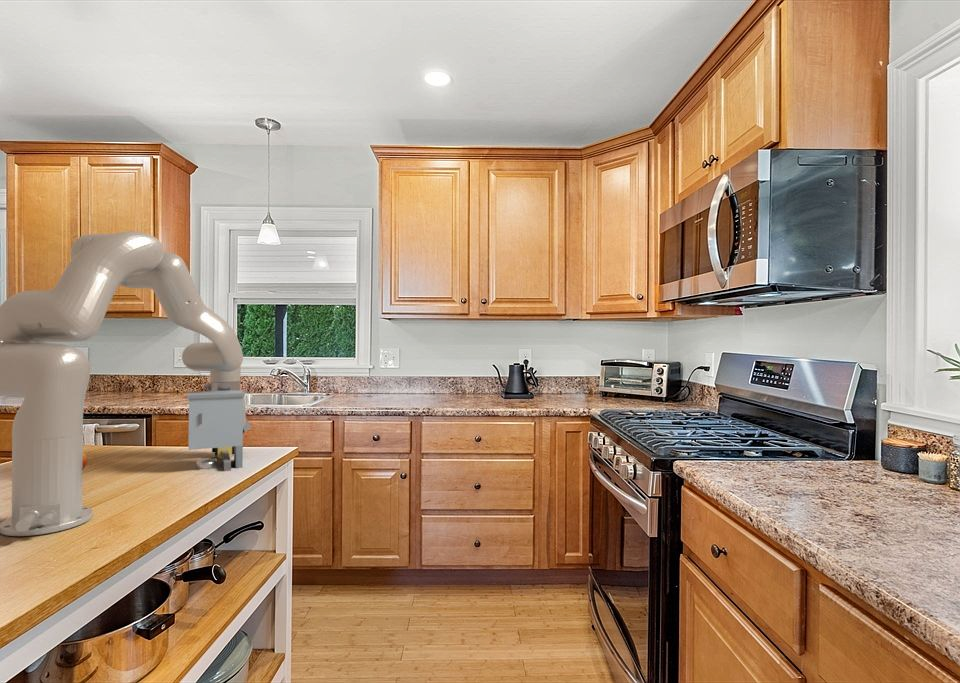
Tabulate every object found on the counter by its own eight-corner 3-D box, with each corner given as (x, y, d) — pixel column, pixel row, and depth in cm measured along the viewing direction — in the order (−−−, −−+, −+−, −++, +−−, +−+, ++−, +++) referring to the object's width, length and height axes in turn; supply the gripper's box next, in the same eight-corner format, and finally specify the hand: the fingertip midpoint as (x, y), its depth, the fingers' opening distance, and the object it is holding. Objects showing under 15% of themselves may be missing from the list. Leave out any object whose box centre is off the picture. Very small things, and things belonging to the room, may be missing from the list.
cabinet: (243, 467, 131) (244, 393, 131) (186, 473, 125) (187, 395, 125) (241, 460, 139) (242, 390, 139) (187, 465, 133) (188, 391, 133)
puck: (216, 469, 130) (216, 461, 130) (196, 471, 128) (196, 462, 128) (216, 465, 134) (216, 457, 134) (196, 466, 132) (196, 459, 132)
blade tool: (235, 469, 129) (235, 441, 129) (219, 471, 127) (219, 442, 127) (231, 454, 145) (231, 429, 145) (217, 455, 144) (217, 430, 144)
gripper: (190, 390, 135) (190, 460, 136) (259, 388, 143) (258, 454, 144) (191, 387, 142) (190, 454, 142) (256, 385, 150) (255, 448, 150)
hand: (224, 453), depth 143 cm, fingers closed on blade tool, 3 cm apart
